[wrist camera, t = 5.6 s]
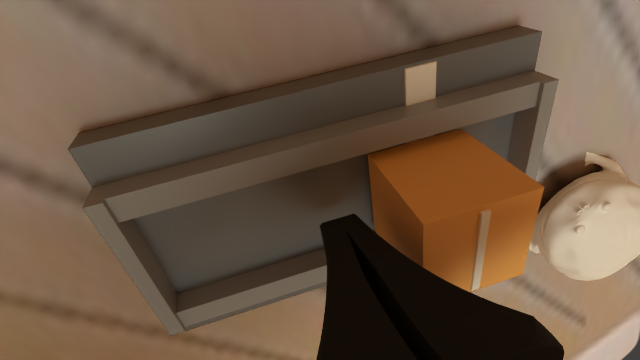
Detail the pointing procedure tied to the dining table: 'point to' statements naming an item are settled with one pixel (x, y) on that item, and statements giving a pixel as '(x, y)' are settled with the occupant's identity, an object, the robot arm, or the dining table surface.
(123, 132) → the fader console
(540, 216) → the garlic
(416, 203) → the fader tab
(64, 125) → the dining table surface
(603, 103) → the dining table surface
